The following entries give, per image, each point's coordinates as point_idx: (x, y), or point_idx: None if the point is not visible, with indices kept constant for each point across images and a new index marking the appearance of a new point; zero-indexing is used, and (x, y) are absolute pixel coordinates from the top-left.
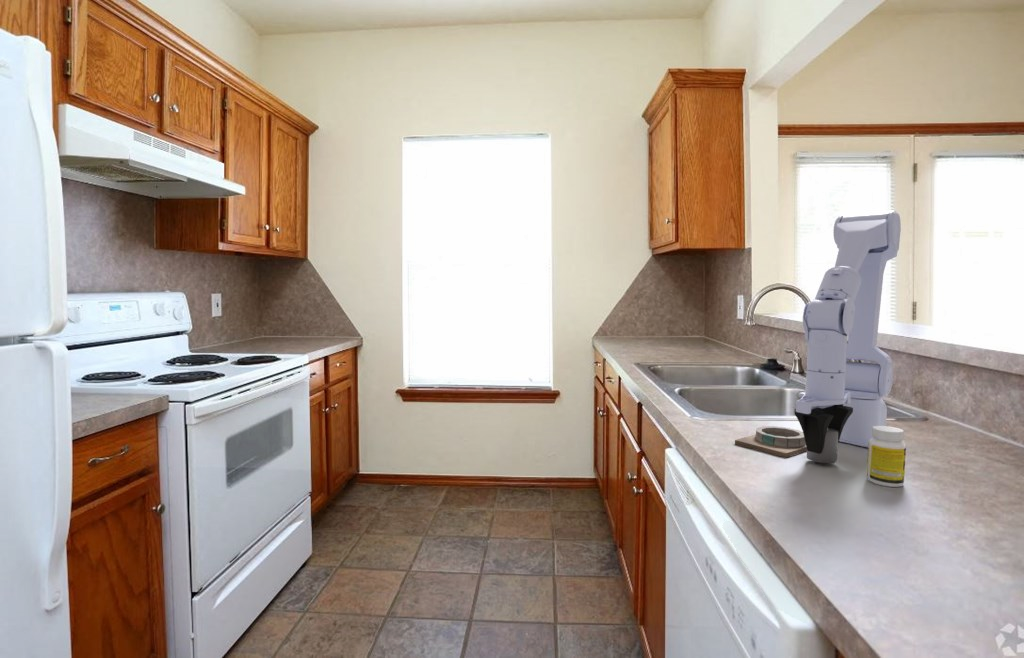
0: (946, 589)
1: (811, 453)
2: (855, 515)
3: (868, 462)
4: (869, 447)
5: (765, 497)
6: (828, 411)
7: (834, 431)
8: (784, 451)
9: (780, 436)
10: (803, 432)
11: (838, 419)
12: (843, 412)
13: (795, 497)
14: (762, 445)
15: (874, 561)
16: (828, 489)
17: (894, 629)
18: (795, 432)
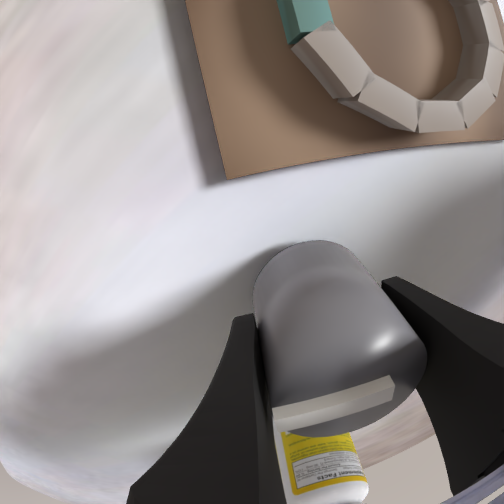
0: (82, 497)
1: (256, 311)
2: (95, 457)
3: (284, 449)
4: (290, 488)
5: None
6: (482, 431)
7: (374, 414)
8: (245, 152)
9: (349, 49)
10: (209, 386)
11: (446, 433)
12: (456, 475)
13: (33, 402)
14: (222, 24)
15: (52, 476)
16: (123, 412)
17: (25, 483)
18: (483, 52)
